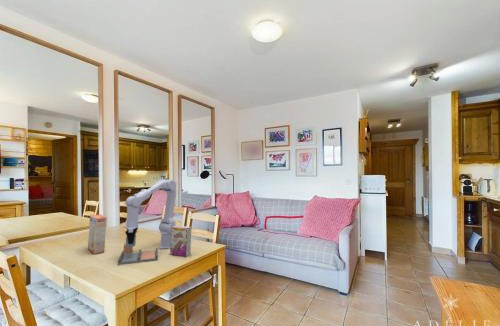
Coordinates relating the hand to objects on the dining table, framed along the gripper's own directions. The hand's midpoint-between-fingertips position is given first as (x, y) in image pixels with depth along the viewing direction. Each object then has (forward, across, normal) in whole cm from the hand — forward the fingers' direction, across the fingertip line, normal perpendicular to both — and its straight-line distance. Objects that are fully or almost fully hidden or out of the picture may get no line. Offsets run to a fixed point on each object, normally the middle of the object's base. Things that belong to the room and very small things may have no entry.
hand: (131, 242), depth 124 cm
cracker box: (+9, -21, -20) cm, 31 cm away
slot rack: (+9, 0, +4) cm, 10 cm away
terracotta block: (+9, -13, -2) cm, 16 cm away
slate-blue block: (+2, 0, 0) cm, 2 cm away
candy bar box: (+9, +2, +26) cm, 28 cm away
